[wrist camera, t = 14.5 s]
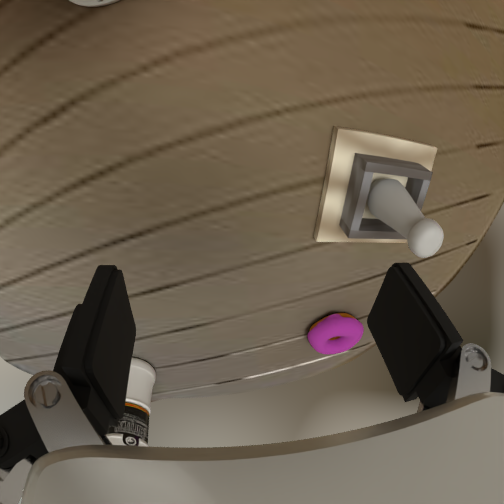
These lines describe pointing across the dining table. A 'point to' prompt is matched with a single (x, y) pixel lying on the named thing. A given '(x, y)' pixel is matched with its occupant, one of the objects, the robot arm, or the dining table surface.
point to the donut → (335, 333)
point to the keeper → (368, 183)
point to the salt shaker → (404, 216)
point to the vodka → (135, 407)
